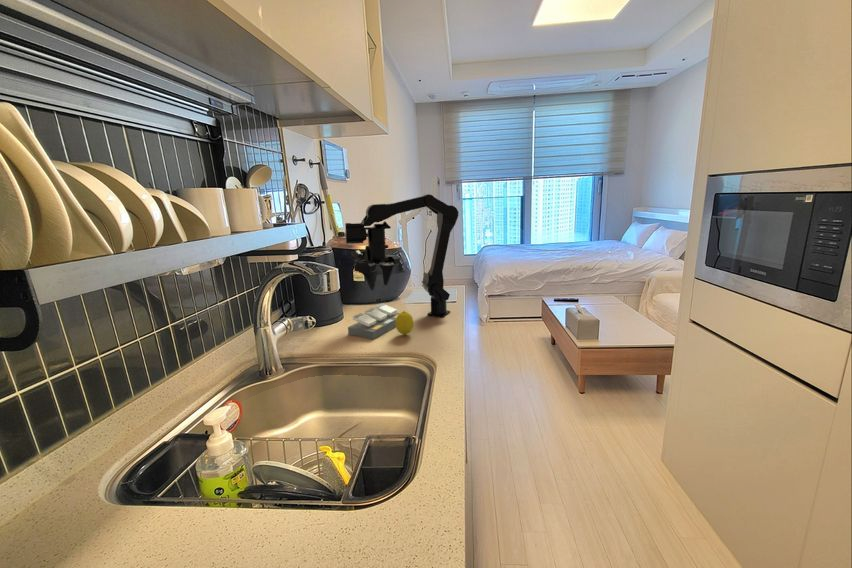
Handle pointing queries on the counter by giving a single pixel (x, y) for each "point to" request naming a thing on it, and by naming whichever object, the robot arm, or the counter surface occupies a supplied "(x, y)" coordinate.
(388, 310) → the switch
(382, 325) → the switch panel
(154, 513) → the counter surface
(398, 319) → the lemon
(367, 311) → the switch middle
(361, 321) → the switch
